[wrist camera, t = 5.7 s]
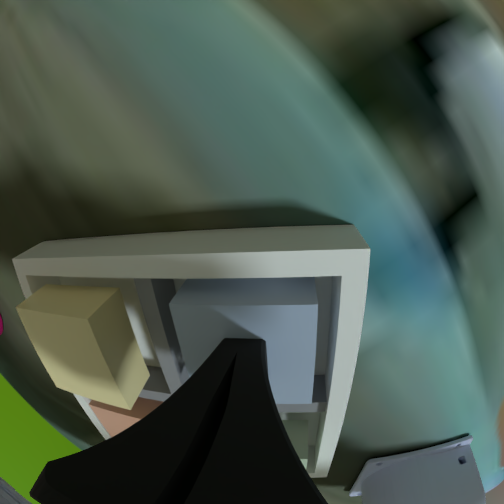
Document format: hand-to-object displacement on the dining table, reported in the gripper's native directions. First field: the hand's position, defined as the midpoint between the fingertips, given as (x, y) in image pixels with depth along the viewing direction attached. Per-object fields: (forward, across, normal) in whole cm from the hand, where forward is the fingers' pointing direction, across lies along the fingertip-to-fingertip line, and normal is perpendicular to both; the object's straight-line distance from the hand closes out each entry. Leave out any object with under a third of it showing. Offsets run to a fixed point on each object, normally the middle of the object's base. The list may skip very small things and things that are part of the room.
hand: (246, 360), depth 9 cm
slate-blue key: (+2, 0, 0) cm, 2 cm away
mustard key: (+1, +7, 0) cm, 7 cm away
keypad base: (+3, +4, +4) cm, 6 cm away
